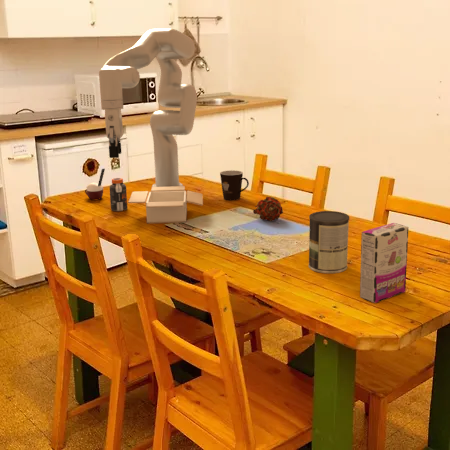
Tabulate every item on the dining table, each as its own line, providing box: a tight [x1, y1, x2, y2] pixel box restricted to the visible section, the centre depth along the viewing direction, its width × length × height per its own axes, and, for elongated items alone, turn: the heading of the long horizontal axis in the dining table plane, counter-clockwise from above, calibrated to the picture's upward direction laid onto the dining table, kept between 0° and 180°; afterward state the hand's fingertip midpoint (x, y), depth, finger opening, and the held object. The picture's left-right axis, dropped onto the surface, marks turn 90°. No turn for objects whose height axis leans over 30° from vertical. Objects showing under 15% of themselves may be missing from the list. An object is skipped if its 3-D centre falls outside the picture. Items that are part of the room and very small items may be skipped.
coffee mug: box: [219, 169, 250, 202], centre depth 241 cm, size 12×9×10 cm
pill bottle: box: [109, 177, 128, 212], centre depth 229 cm, size 6×6×11 cm
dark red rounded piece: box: [252, 196, 284, 222], centre depth 214 cm, size 8×8×12 cm
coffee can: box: [308, 210, 350, 274], centre depth 168 cm, size 10×10×14 cm
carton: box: [127, 185, 188, 224], centre depth 219 cm, size 28×19×7 cm
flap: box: [186, 190, 204, 207], centre depth 219 cm, size 15×1×6 cm
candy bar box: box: [359, 222, 409, 304], centre depth 149 cm, size 11×5×16 cm, turn 126°
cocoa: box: [84, 168, 105, 200], centre depth 245 cm, size 10×6×12 cm, turn 43°
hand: (115, 155), depth 225 cm, fingers open, 7 cm apart
